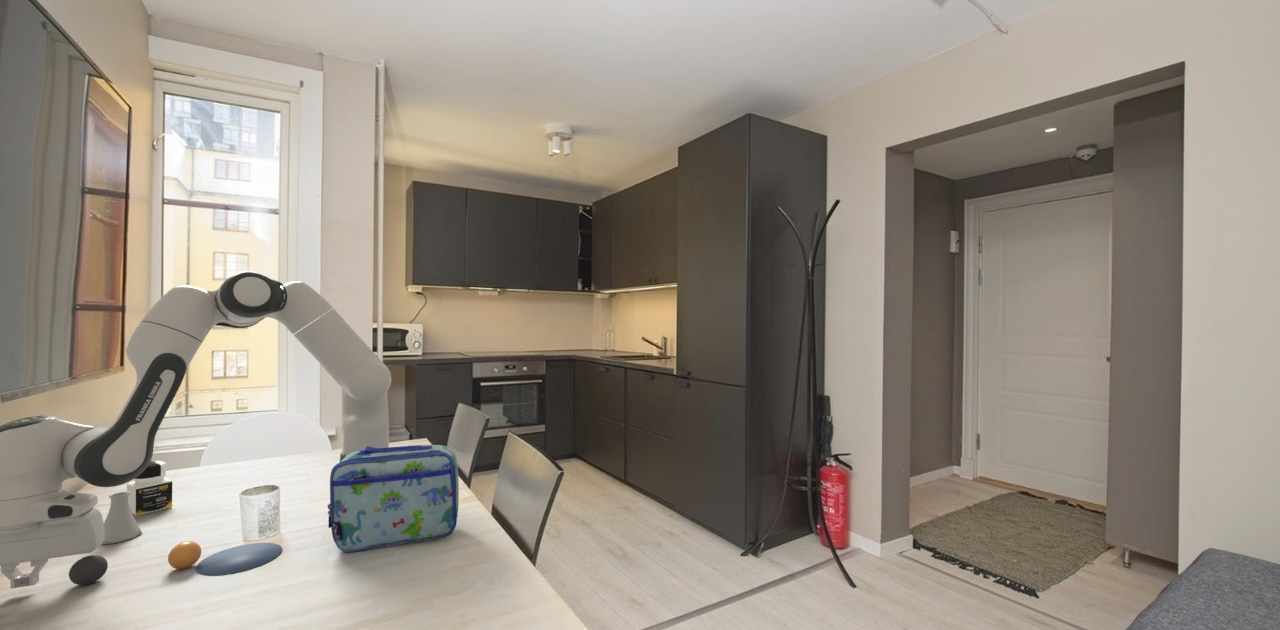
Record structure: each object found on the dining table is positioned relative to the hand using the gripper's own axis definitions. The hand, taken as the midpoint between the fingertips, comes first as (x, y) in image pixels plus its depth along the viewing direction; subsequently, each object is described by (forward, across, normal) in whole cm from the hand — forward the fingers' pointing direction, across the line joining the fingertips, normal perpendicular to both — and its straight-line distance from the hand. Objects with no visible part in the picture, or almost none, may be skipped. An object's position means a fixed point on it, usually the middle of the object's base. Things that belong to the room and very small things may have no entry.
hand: (24, 585), depth 93 cm
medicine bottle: (+2, +3, +44) cm, 44 cm away
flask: (+2, +4, +24) cm, 24 cm away
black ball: (-1, +8, 0) cm, 8 cm away
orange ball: (-1, +22, 0) cm, 22 cm away
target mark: (+2, +31, 0) cm, 31 cm away
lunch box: (+2, +60, -4) cm, 61 cm away
